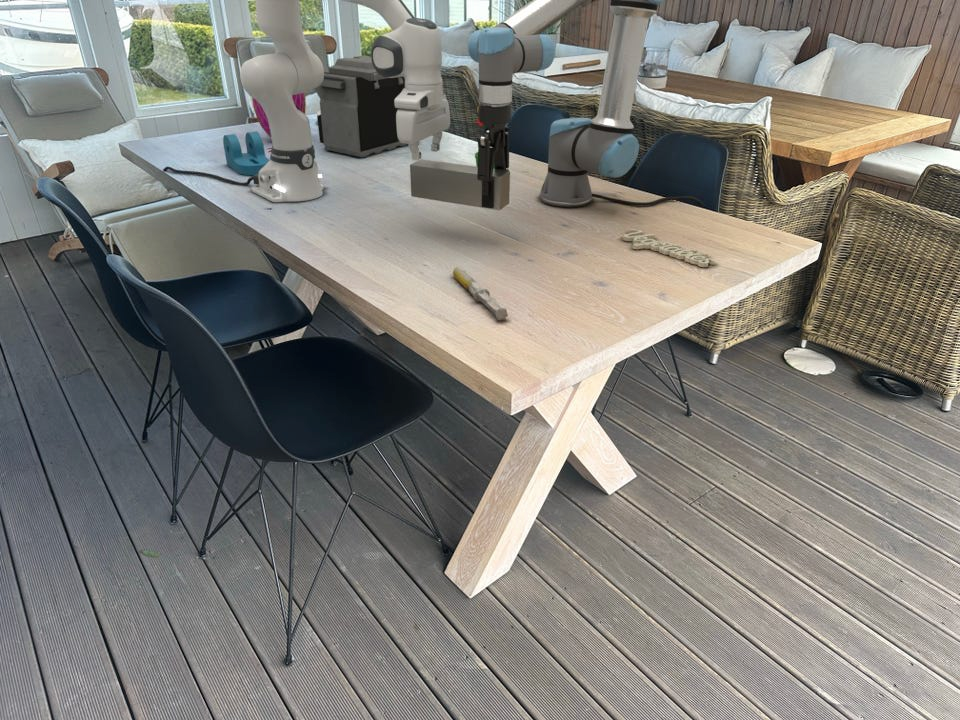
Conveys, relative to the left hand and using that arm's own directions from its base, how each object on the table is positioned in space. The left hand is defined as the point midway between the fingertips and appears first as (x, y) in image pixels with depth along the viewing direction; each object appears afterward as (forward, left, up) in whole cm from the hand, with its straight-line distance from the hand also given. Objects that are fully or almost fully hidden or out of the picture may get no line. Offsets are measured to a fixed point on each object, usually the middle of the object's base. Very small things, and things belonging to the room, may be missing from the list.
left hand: (426, 155), depth 169 cm
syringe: (+34, -23, -20) cm, 46 cm away
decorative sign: (+54, +26, -20) cm, 63 cm away
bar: (+9, +2, -10) cm, 14 cm away
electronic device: (-78, +57, -20) cm, 98 cm away
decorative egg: (-110, +42, -20) cm, 120 cm away
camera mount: (-86, +9, -20) cm, 89 cm away
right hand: (+18, +4, -10) cm, 21 cm away
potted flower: (-21, +53, -20) cm, 61 cm away
